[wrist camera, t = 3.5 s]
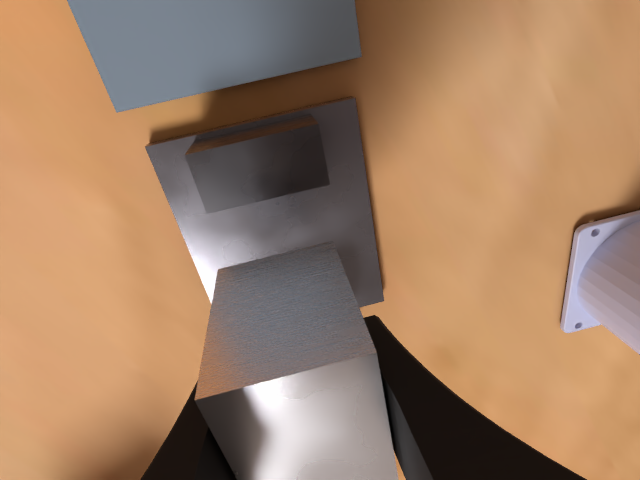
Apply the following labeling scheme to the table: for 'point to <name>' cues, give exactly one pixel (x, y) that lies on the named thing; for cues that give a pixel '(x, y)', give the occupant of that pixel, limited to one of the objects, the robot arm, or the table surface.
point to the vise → (274, 192)
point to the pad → (209, 43)
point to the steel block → (293, 373)
